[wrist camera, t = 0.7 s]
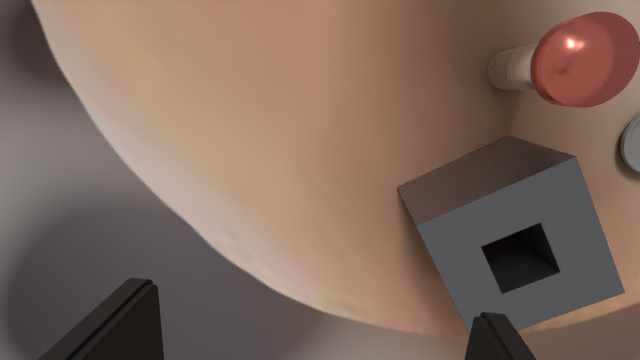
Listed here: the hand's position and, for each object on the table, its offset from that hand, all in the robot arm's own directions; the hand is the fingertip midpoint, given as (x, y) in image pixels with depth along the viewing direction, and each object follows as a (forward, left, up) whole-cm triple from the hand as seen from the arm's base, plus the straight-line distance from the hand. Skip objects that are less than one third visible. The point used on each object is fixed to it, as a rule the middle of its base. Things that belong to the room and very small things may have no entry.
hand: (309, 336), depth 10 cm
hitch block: (-10, +12, -27) cm, 31 cm away
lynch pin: (-18, 0, -27) cm, 32 cm away
